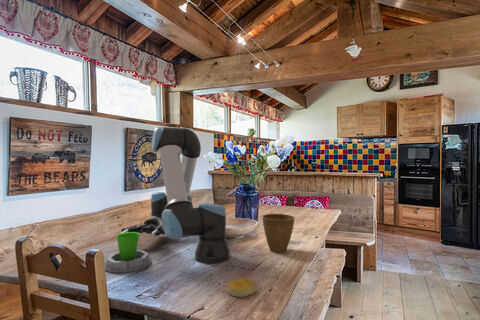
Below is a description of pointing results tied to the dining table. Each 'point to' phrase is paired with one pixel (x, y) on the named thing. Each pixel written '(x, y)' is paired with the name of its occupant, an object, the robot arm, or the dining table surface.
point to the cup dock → (127, 263)
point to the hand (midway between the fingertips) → (136, 236)
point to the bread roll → (241, 287)
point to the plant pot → (278, 231)
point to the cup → (128, 245)
